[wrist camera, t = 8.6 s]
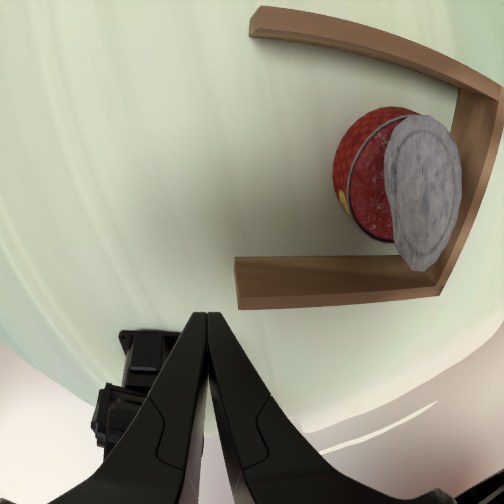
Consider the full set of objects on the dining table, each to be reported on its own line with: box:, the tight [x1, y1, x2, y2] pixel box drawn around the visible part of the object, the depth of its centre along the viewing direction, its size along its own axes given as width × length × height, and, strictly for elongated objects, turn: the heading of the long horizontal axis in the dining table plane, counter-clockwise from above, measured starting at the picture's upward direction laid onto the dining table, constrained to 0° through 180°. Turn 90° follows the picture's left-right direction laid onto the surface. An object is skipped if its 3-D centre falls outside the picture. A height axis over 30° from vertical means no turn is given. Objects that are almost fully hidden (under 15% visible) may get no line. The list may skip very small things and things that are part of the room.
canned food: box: [332, 106, 462, 272], centre depth 18 cm, size 11×10×10 cm
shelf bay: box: [234, 6, 504, 310], centre depth 18 cm, size 18×18×4 cm
